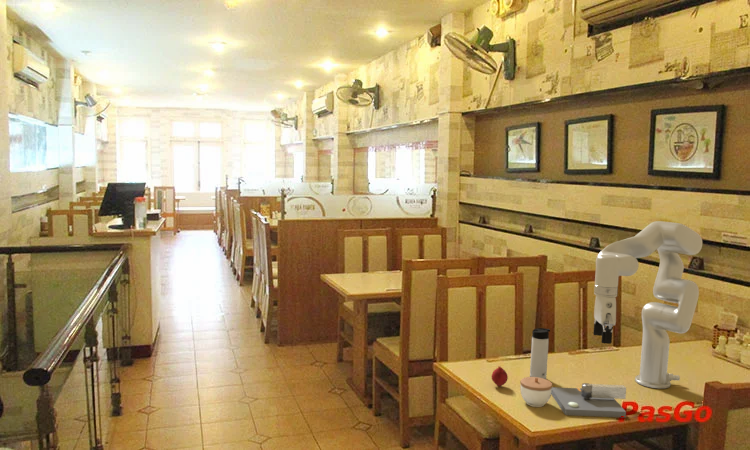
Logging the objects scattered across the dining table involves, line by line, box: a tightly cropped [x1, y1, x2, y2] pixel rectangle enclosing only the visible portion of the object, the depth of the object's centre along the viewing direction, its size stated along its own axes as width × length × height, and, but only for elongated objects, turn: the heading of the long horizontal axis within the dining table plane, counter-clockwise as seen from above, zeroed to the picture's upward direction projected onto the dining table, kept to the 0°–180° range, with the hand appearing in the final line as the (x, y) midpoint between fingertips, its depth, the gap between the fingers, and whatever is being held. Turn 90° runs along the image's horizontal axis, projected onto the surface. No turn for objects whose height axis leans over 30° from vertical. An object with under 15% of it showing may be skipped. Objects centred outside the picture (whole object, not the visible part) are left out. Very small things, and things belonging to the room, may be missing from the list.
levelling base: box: [551, 386, 627, 418], centre depth 214 cm, size 20×20×3 cm
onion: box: [491, 365, 509, 387], centre depth 228 cm, size 6×6×8 cm
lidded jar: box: [519, 376, 553, 408], centre depth 213 cm, size 11×11×9 cm
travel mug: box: [529, 327, 551, 380], centre depth 237 cm, size 6×7×20 cm
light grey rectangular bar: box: [581, 382, 627, 400], centre depth 213 cm, size 15×4×5 cm, turn 88°
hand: (602, 339), depth 213 cm, fingers open, 9 cm apart
